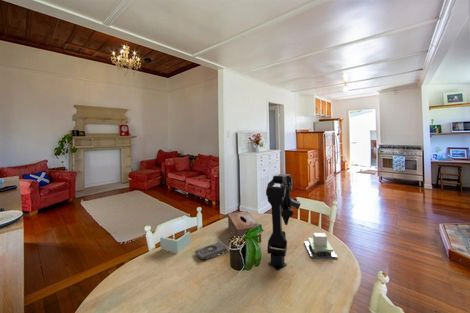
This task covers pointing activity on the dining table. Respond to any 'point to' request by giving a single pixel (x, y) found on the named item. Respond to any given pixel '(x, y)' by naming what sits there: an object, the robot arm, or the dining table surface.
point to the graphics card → (212, 250)
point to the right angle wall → (175, 243)
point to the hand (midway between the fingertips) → (285, 221)
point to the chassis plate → (320, 253)
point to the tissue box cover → (241, 223)
